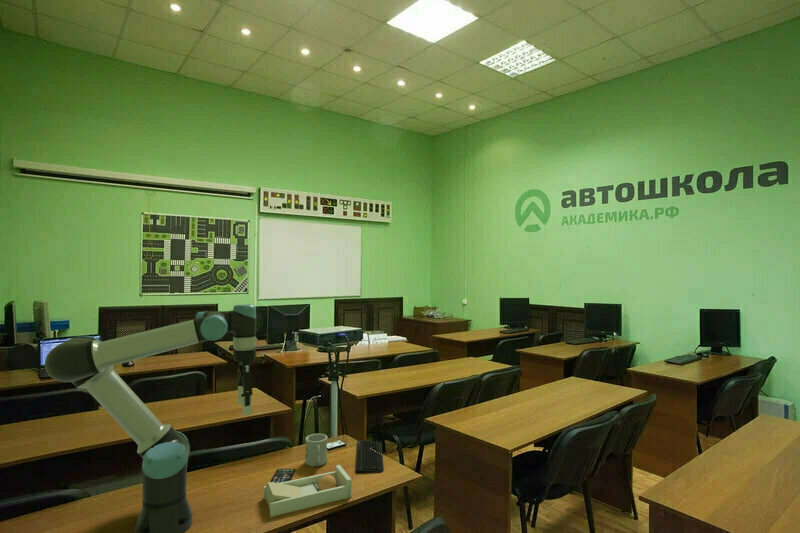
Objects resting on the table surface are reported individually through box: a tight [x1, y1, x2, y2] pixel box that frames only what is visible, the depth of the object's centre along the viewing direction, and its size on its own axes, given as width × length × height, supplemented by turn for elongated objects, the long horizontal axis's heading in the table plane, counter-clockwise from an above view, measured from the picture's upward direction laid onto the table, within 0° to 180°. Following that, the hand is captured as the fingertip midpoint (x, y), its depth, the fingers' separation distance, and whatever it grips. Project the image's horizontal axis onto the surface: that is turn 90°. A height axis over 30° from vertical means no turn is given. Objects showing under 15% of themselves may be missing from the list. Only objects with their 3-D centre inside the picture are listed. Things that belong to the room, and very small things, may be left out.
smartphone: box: [269, 468, 296, 483], centre depth 161 cm, size 7×1×15 cm
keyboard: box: [355, 439, 385, 474], centre depth 180 cm, size 30×11×2 cm, turn 4°
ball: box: [318, 475, 337, 491], centre depth 150 cm, size 6×6×6 cm
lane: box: [263, 464, 353, 518], centre depth 147 cm, size 27×13×6 cm, turn 117°
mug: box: [304, 433, 329, 467], centre depth 173 cm, size 12×9×10 cm
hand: (244, 409), depth 152 cm, fingers open, 13 cm apart
